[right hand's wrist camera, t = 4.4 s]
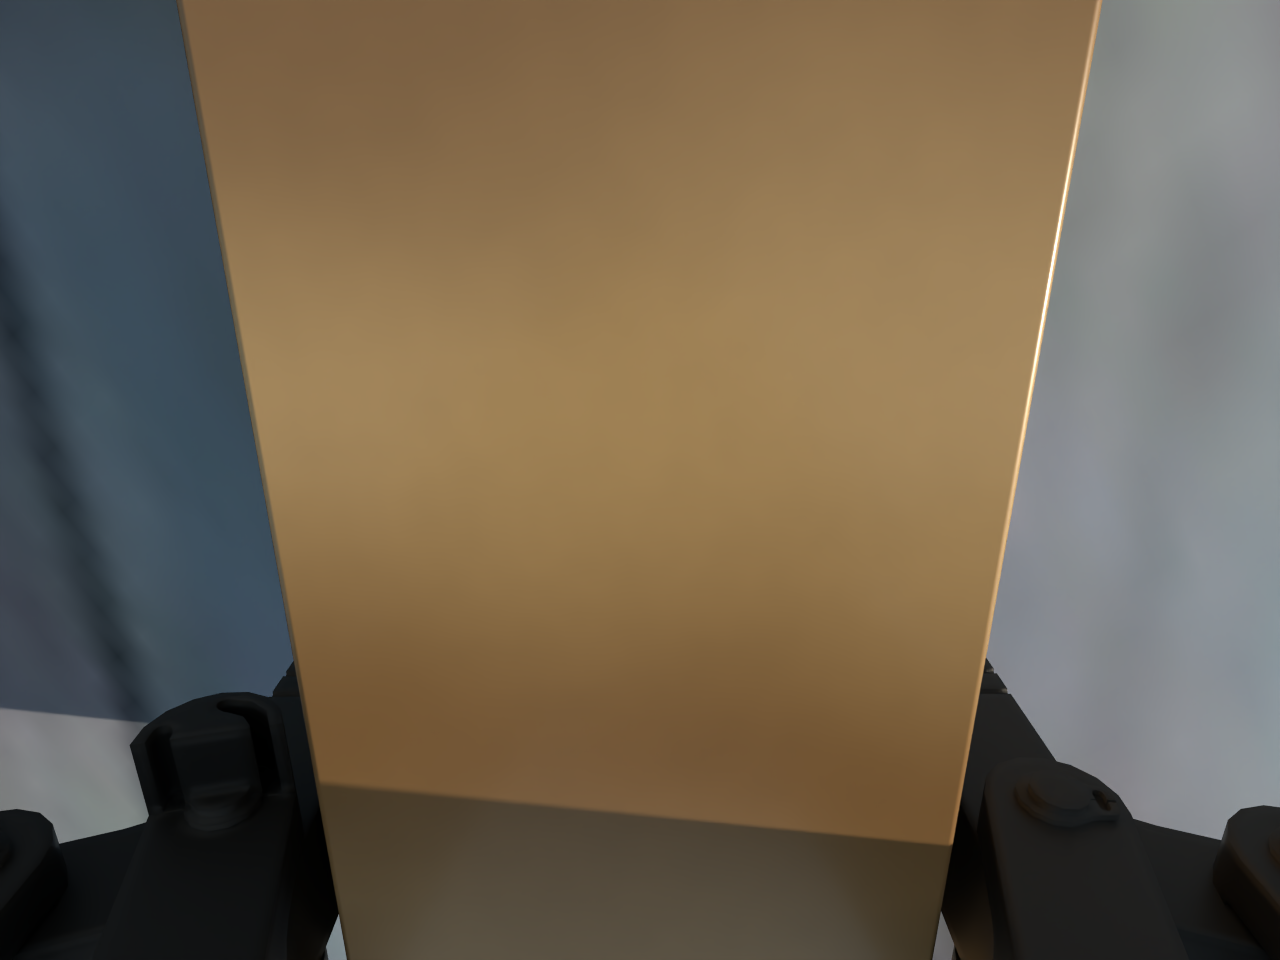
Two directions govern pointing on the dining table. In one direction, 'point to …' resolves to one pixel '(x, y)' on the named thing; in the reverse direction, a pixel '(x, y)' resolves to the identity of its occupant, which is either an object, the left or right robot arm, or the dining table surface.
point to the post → (639, 443)
